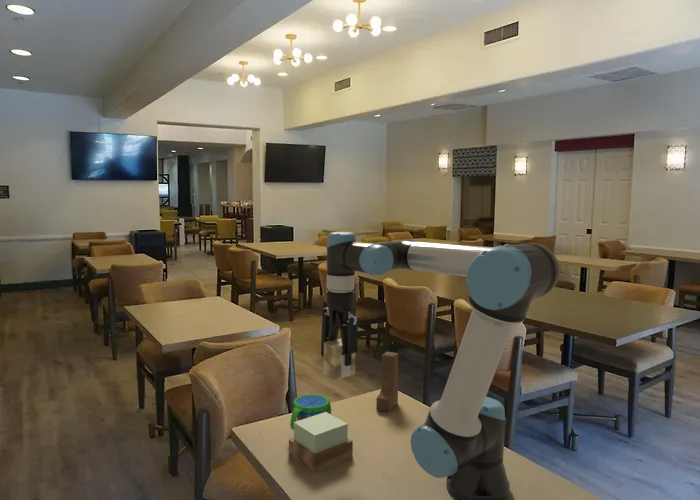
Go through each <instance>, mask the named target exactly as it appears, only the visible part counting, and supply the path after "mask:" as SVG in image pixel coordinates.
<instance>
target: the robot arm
mask: <svg viewBox="0 0 700 500" xmlns="http://www.w3.org/2000/svg"><path fill="white" fill-rule="evenodd" d="M401 269H402V270H409V271H420V272H427V273H434V274H443V275H451V276H459V277H466V278H465V282H466V283H465V284H466V286H467V287H468V290H467V291H468V295H469V296H468V299H467V302H468V304H469V306H470V308H471V310H472V311H471V313H470V316H469V319H468V322H467V324H466V327H465V330H464V333H463V336H462V337H461V341H460V344H459V348H458V351H457V353H456V355H455V359H454V361H453V363H452V368H451V369H450V372H449V375H448V378H447V381H446V384H445V387H444V390H443V392H442V395H441V397H440V400H436V401H435V402H433V403H432V404H431V406H430V408H429V411H428V413H427V417H426V419H425V422H424V423H423V424H421V425H418V426H417V427H416V428H414V430H413V431H412V433H411V435H410V447H411V448H410V449H411V451H412V454H413V456H414V459H415V461H416V463H417V464H418V465H419V467H420V468H421V469H422V470H423V471H424V472H425V473H427V474H428V475H430V476H432V477H434V478H439V479H444V478H446V481H445V482H446V483H445V484H446V489H447V492H448V493H449V495H451V496H452V497H453V498H454V499H456V500H508V499H509V497H510V490H511V489H510V488H511V487H510V486H511V485H510V481H509V479H508V476H507V471H506V468H505V464H504V453H505V451H504V448H505V430H506V425H505V424H506V420H507V419H506V416H505V415H506V411H505V410H506V409H505V407H504V405H503V404H502V402H501V401H499V400H497V399H494V398H493V397H489V396H487V394H488V393H489V389H490V386H491V384H492V382H493V379H494V377H495V374H496V371H497V368H498V366H499V363H500V361H501V359H502V356H503V353H504V351H505V348H506V346H507V344H508V341H509V338H510V336H511V333H512V330H513V328H514V326H516V325H519V324H522V323H523V322H524V321H525V319H526V316H527V314H528V311H529V309H530V306H531V304H532V302H533V300H535V299H538V298H541V297H544V296H546V295H547V294H549V293H550V292H551V291H552V290H553V289H554V288H555V286H556V285H557V283H558V281H559V278H560V270H561V269H560V264H559V261H558V259H557V257H556V255H555V254H554V252H553V251H552V250H550V249H549V248H548V247H547V246H545V245H542V244H539V243H535V242H525V243H520V244H517V243H516V244H514V243H512V244H511V243H505V244H504V245H497V246H496V245H495V246H493V247H491V246H482V245H481V246H479V245H468V244H455V243H454V244H453V243H443V242H442V243H440V242H425V241H417V240H414V239H401V240H394V241H392V240H391V241H381V242H379V241H378V242H360V241H357V239H356V234H355V233H353V232H351V231H350V232H349V231H334V232H330V233H329V234H328V236H327V244H326V284H325V285H326V289H327V290H326V295H325V297H326V304H327V305H328V307H324V308H322V309H321V312H322V344H324V342H328V341H333V340H338V336H339V331H340V339H341V340H342V347H343V353H341V378H340V379H344V378H347V377H350V365H351V359H352V353H355V354H357V353H358V341H359V339H358V338H359V337H358V333H359V332H358V331H359V330H358V328H359V327H358V326H359V323H360V317H359V316H355V315H354V314H353V311H352V306H353V305H354V304H355V291H354V289H355V281H356V280H355V278H356V277H355V275H356V272H359V273H363V274H367V275H370V276H375V275H376V276H384V275H386V274H388V272H390V271H393V270H401ZM347 348H348V349H347Z"/></svg>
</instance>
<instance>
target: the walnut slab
mask: <svg viewBox="0 0 700 500" xmlns="http://www.w3.org/2000/svg"><path fill="white" fill-rule="evenodd" d="M353 443H354V442H353V440H352V439H350V438H348V441H347V442H344V443H342V444H339V445H336V446H334V447H331V448H328V449H326V450H323V451H320V452H318V453H313V452H312V451H310V450H309V449H307V448H306V447H304V446H303V445H301V444H300V443H298V442H297V441H295V440H294V437H291V438H290V439H288V456H289V457H291V458H292V459H293V460H294V461H295V460H296V461H297V462H298V463H299V464H301V465H303V466H304V467H306V468H307V469H308V470H310V471H311V472H313V473H314V474H316V473H318V472H320V471H323V470H325V469H328V468H330V467H332V466H334V465H336V464H339V463H341V462H343V461H346V460H349V459H351V458H353V456H354V455H353V452H354V450H353V448H354V447H353V446H354V444H353Z"/></svg>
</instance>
